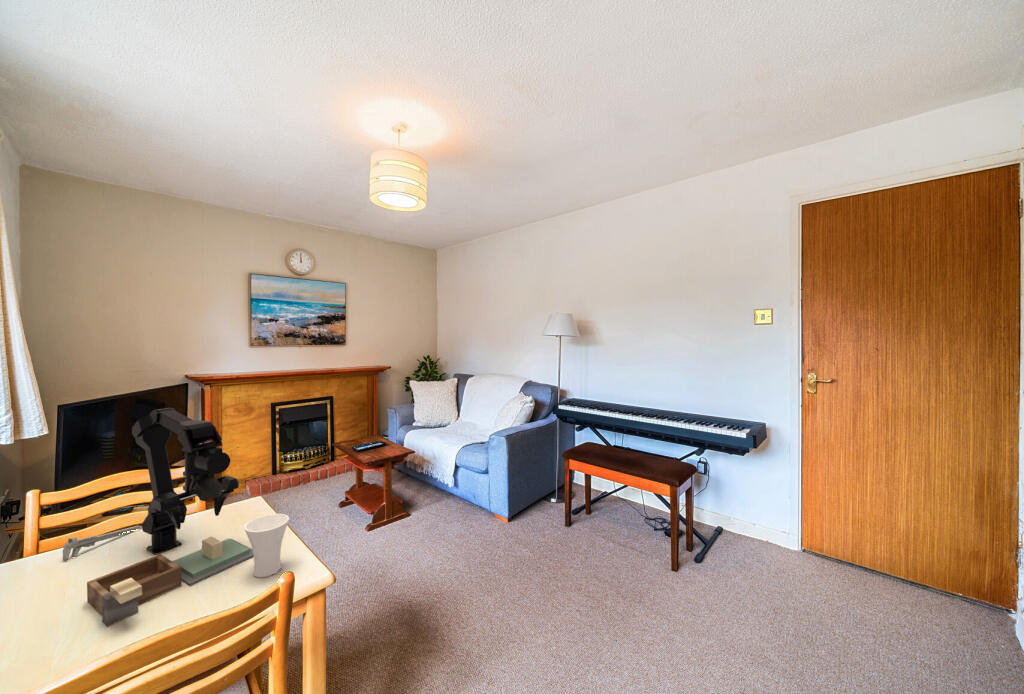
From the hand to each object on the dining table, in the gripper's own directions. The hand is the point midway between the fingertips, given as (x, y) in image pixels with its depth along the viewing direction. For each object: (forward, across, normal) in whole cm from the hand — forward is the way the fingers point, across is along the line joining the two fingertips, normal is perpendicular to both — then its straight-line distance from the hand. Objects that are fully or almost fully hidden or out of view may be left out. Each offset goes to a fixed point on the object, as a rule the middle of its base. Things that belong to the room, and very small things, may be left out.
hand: (198, 521), depth 111 cm
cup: (+12, +7, -21) cm, 25 cm away
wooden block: (+5, -20, -13) cm, 24 cm away
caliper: (+13, -8, +37) cm, 40 cm away
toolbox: (+12, -15, -4) cm, 19 cm away
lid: (+11, +2, -2) cm, 12 cm away
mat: (+12, +2, -3) cm, 12 cm away
